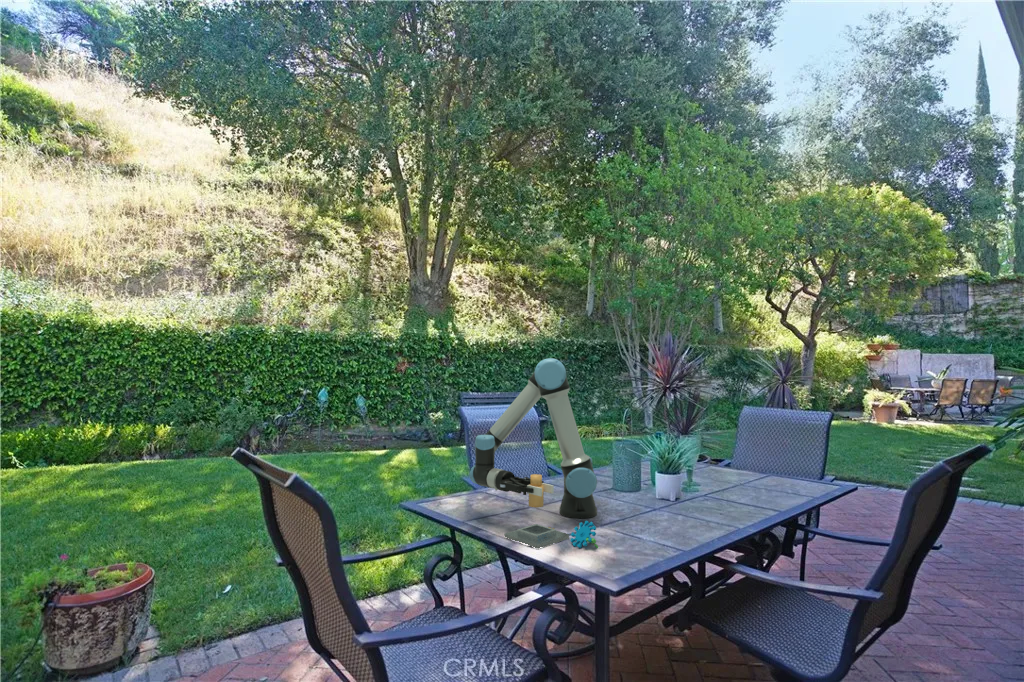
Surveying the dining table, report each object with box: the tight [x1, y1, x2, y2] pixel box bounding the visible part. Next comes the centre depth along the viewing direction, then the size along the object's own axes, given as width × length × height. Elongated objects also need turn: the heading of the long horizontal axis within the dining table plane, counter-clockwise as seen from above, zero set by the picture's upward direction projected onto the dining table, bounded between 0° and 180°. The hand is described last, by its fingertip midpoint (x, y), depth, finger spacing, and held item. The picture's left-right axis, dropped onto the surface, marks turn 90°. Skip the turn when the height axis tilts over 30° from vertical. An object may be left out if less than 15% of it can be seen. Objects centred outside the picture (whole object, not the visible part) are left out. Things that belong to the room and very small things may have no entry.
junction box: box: [503, 523, 570, 549], centre depth 189 cm, size 16×16×3 cm
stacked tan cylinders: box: [528, 473, 545, 508], centre depth 189 cm, size 5×5×10 cm
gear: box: [569, 520, 599, 549], centre depth 182 cm, size 11×6×10 cm
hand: (547, 490), depth 186 cm, fingers closed on stacked tan cylinders, 5 cm apart
